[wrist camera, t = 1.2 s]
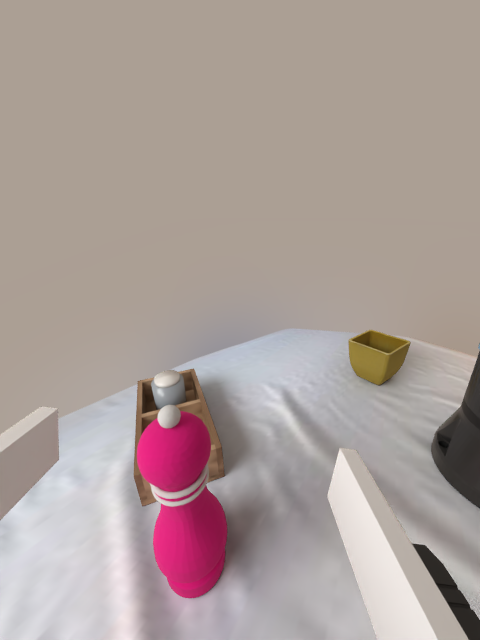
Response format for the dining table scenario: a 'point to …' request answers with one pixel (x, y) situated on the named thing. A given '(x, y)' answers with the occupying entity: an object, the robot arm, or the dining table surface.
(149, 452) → the pepper mill
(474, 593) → the dining table surface
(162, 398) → the salt jar
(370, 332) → the flower pot
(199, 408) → the caddy
